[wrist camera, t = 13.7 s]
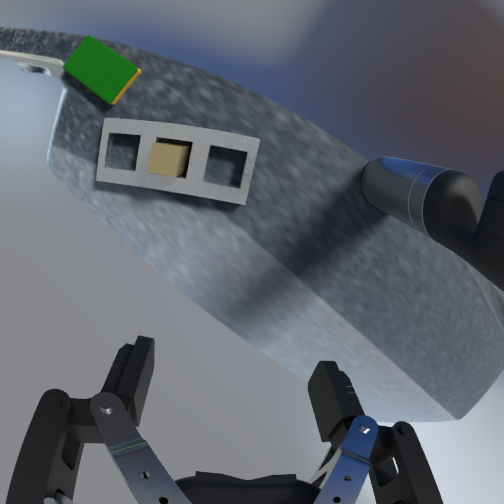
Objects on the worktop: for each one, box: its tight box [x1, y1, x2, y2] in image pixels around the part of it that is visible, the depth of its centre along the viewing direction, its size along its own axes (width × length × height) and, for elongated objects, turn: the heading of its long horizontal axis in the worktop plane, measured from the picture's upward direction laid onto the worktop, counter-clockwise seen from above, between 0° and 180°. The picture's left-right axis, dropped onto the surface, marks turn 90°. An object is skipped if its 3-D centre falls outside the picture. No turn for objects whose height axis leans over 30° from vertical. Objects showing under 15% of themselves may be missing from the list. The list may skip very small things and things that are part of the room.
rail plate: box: [96, 118, 260, 205], centre depth 38 cm, size 24×10×2 cm, turn 77°
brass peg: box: [147, 143, 190, 177], centre depth 36 cm, size 4×4×7 cm
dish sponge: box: [63, 35, 141, 105], centre depth 31 cm, size 7×14×2 cm, turn 47°
